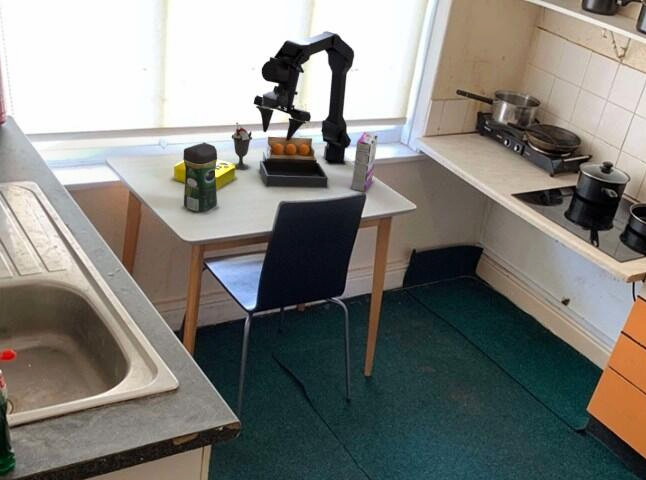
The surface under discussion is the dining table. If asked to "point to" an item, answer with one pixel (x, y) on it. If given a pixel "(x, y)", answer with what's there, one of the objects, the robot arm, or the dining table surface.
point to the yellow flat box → (223, 172)
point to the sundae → (241, 145)
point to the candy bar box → (364, 161)
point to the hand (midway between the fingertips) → (276, 136)
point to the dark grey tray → (293, 174)
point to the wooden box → (282, 140)
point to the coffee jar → (200, 177)
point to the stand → (267, 158)
